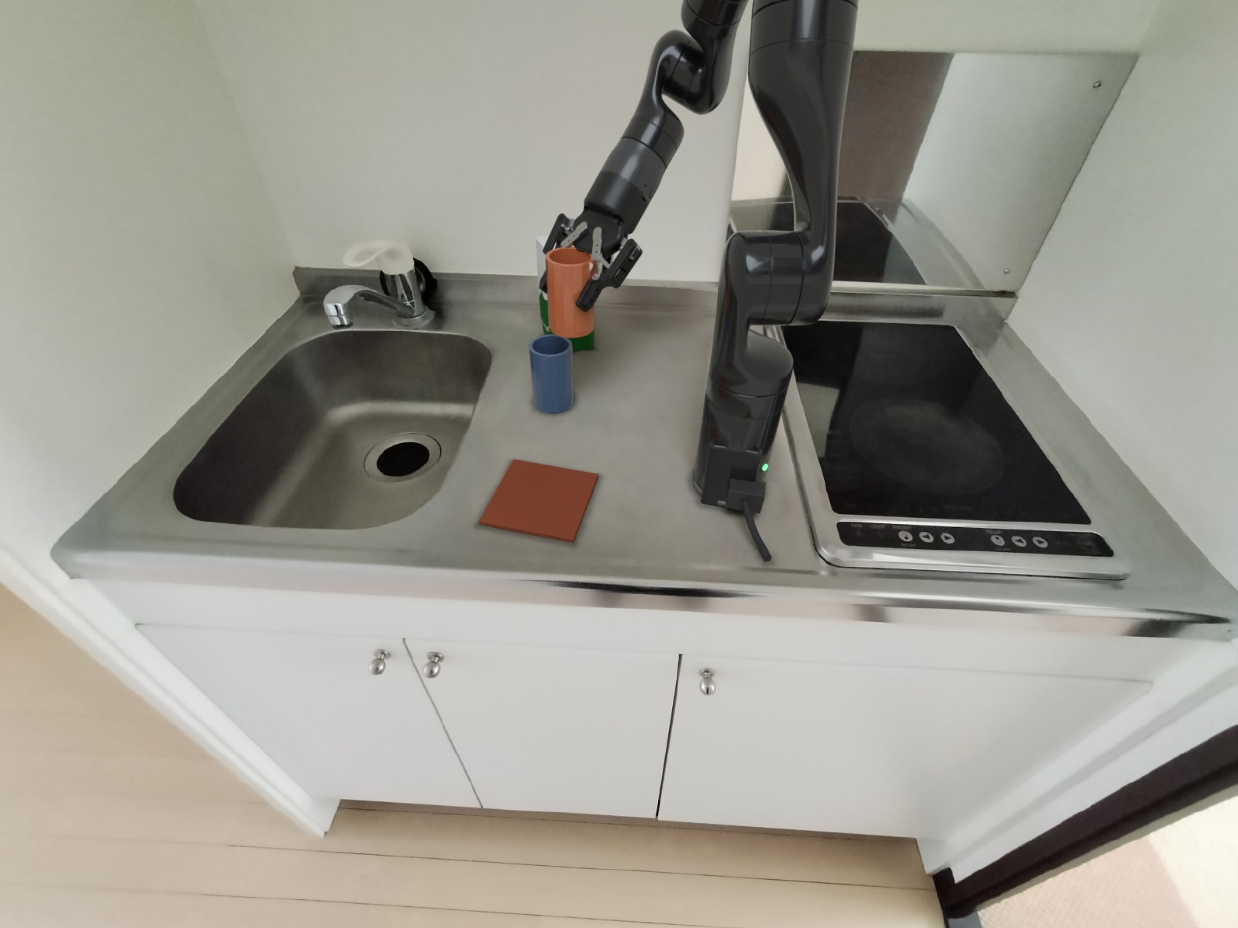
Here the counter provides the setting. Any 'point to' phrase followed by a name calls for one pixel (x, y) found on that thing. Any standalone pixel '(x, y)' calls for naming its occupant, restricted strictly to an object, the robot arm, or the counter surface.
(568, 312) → the clay cup
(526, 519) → the clay mat
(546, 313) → the milk carton
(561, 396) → the blue cup
